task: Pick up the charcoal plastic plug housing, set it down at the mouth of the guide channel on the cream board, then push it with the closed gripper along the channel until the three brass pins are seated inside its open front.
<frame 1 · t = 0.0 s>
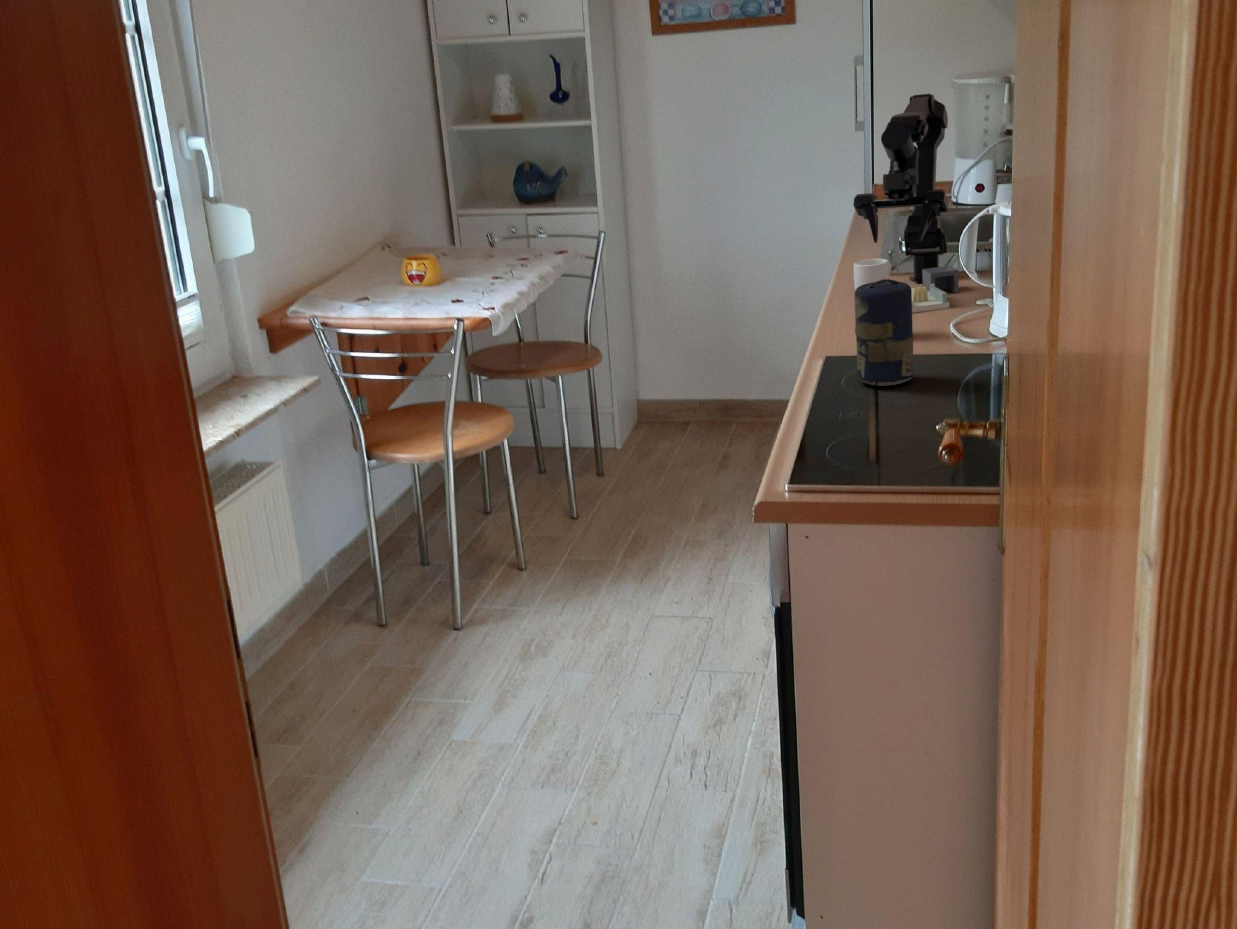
hand: (897, 241, 249), 15 cm above the table, tool tilted 35°, fingers open, 9 cm apart
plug: (940, 291, 267), on the table
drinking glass: (874, 338, 236), on the table
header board: (913, 302, 260), on the table
canister: (886, 383, 207), on the table
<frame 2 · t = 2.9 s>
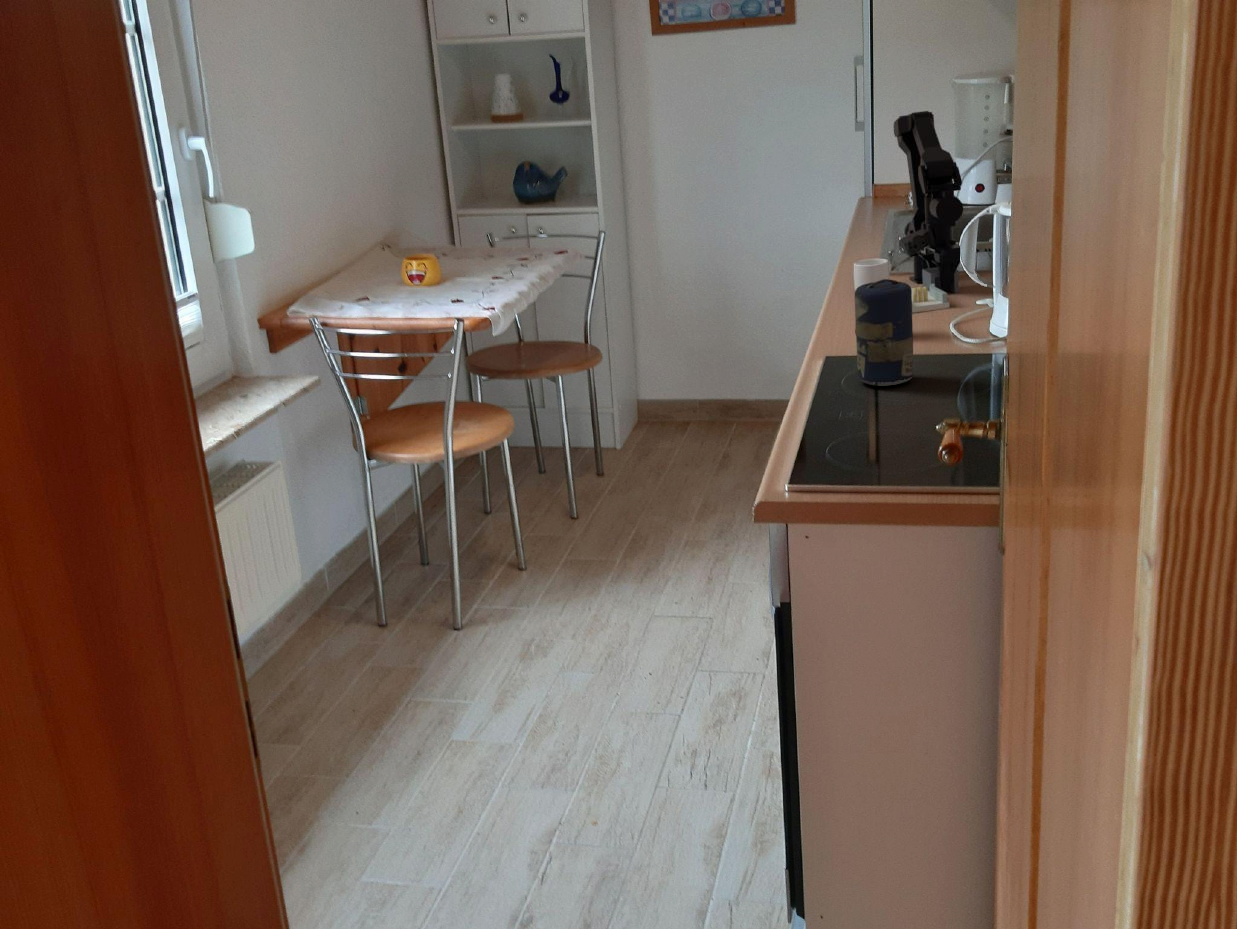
hand: (940, 287, 267), 1 cm above the table, tool pointing down, fingers closed on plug, 5 cm apart
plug: (940, 291, 267), on the table, touching gripper
everything else where it was.
when the fingers open (4 cm above the table, at t = 6.5 s): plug drops 1 cm, point 1 cm above the table.
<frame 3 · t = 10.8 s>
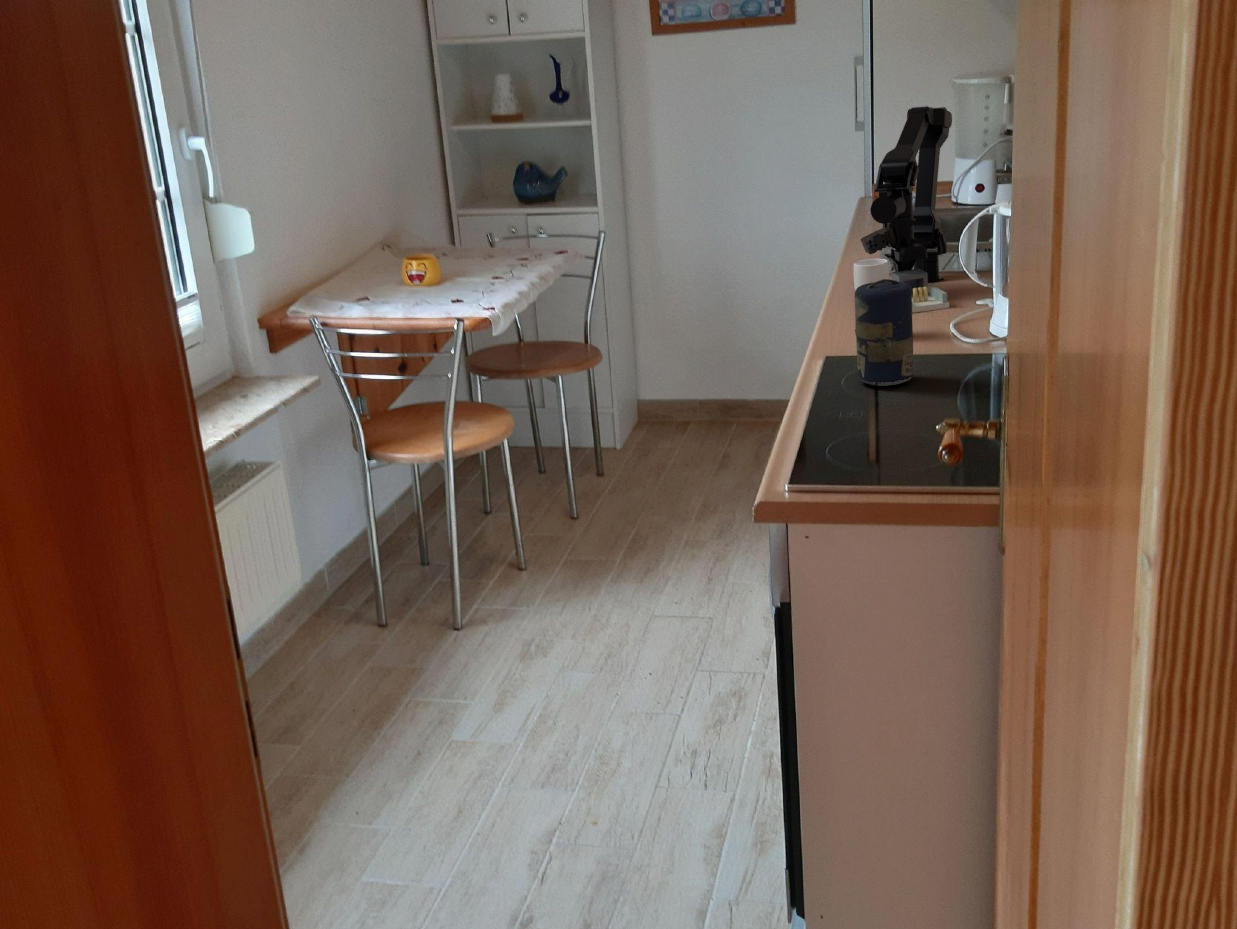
hand: (902, 286, 266), 2 cm above the table, tool pointing down, fingers closed
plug: (910, 295, 262), point 1 cm above the table, touching gripper
everything else where it was.
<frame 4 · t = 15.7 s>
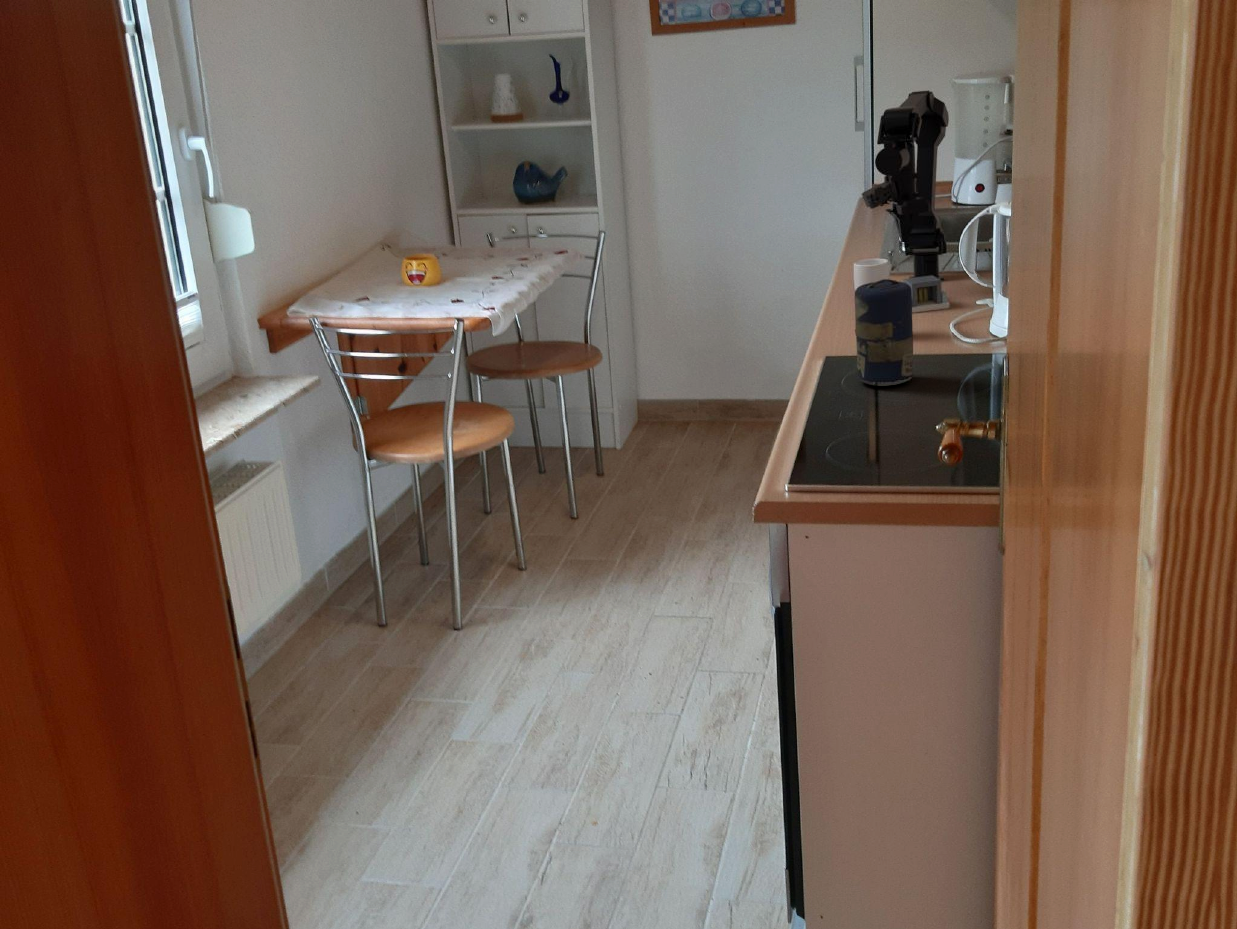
hand: (904, 242, 261), 12 cm above the table, tool pointing down, fingers closed
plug: (922, 302, 254), point 1 cm above the table, touching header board
everything else where it was.
at the end: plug 1.1 cm from the target spot, point 1.2 cm above the table; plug tilted 0°; the gripper is holding nothing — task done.
